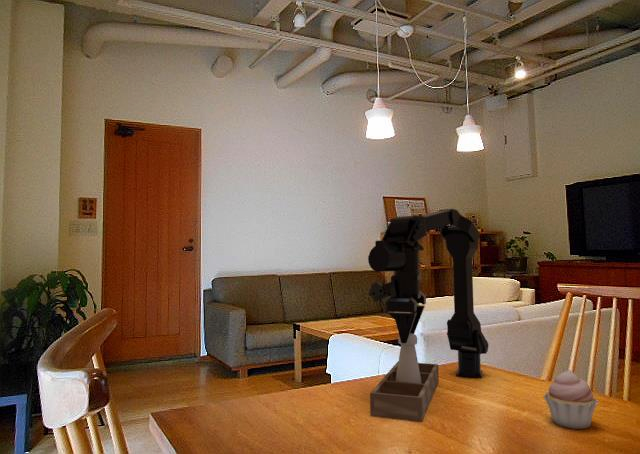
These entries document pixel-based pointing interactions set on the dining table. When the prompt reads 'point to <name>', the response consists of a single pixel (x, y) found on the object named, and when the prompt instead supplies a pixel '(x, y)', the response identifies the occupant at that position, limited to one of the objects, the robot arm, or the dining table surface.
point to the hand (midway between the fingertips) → (407, 339)
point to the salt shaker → (408, 361)
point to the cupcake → (570, 401)
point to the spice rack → (404, 395)
